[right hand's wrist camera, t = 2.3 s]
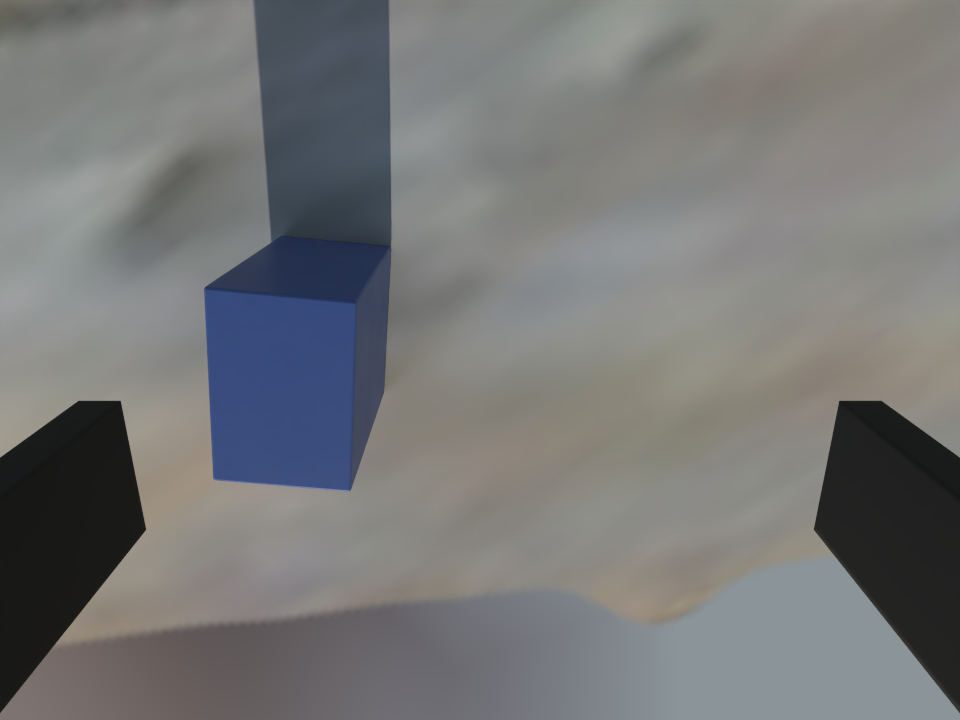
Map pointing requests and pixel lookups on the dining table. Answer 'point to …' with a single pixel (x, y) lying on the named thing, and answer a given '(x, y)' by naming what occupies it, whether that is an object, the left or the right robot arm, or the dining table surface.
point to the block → (297, 362)
